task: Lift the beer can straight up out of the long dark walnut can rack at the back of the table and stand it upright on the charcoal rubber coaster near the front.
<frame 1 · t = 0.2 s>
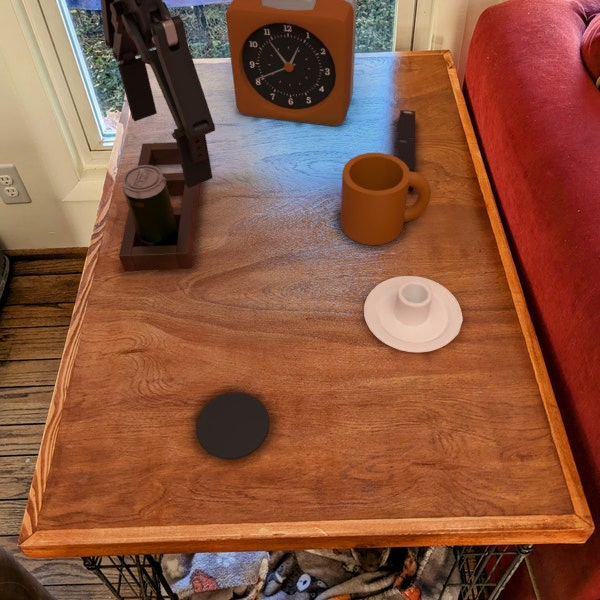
hand: (170, 147, 67), 21 cm above the table, tool pointing down, fingers open, 13 cm apart
candle holder: (411, 316, 78), on the table
mug: (382, 225, 89), on the table
alarm clock: (295, 108, 107), on the table
tablet stand: (405, 158, 98), on the table
can rack: (167, 209, 92), on the table
beer can: (161, 246, 87), resting in can rack
coaster: (232, 425, 69), on the table
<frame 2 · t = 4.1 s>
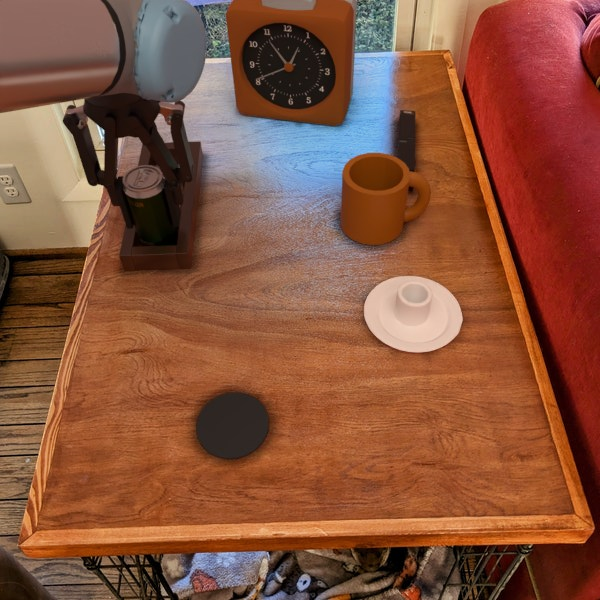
hand: (154, 220, 83), 5 cm above the table, tool pointing down, fingers closed on beer can, 5 cm apart
beer can: (161, 246, 87), resting in can rack, touching gripper
everything else where it was.
when the fingers open (5 cm above the table, at t = 12.1 s): beer can stays where it is, resting on coaster.
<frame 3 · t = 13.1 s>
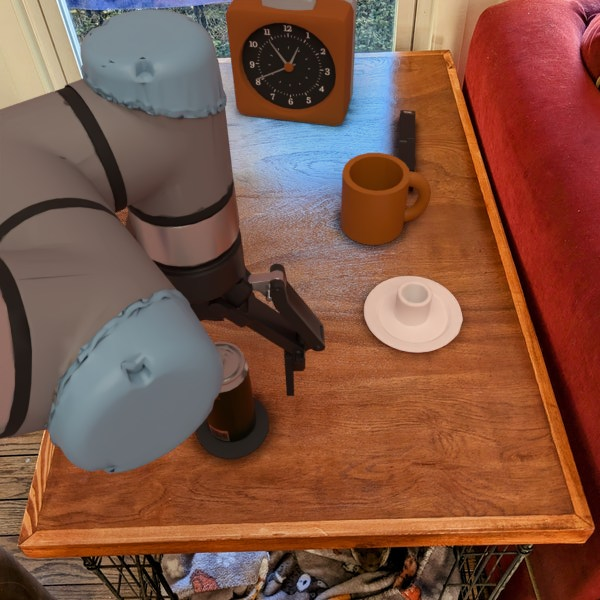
hand: (222, 386, 62), 8 cm above the table, tool pointing down, fingers open, 13 cm apart
beer can: (232, 424, 69), resting on coaster
everything else where it was.
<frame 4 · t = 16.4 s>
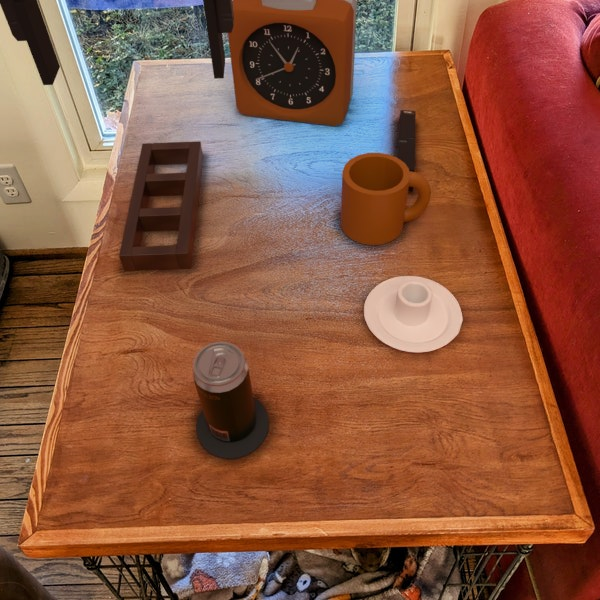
hand: (136, 73, 51), 35 cm above the table, tool pointing down, fingers open, 13 cm apart
nothing on the table moved.
at the end: beer can 0.1 cm off-centre on the coaster, point 0.2 cm above the coaster's base; beer can tilted 0°; beer can touching coaster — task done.
